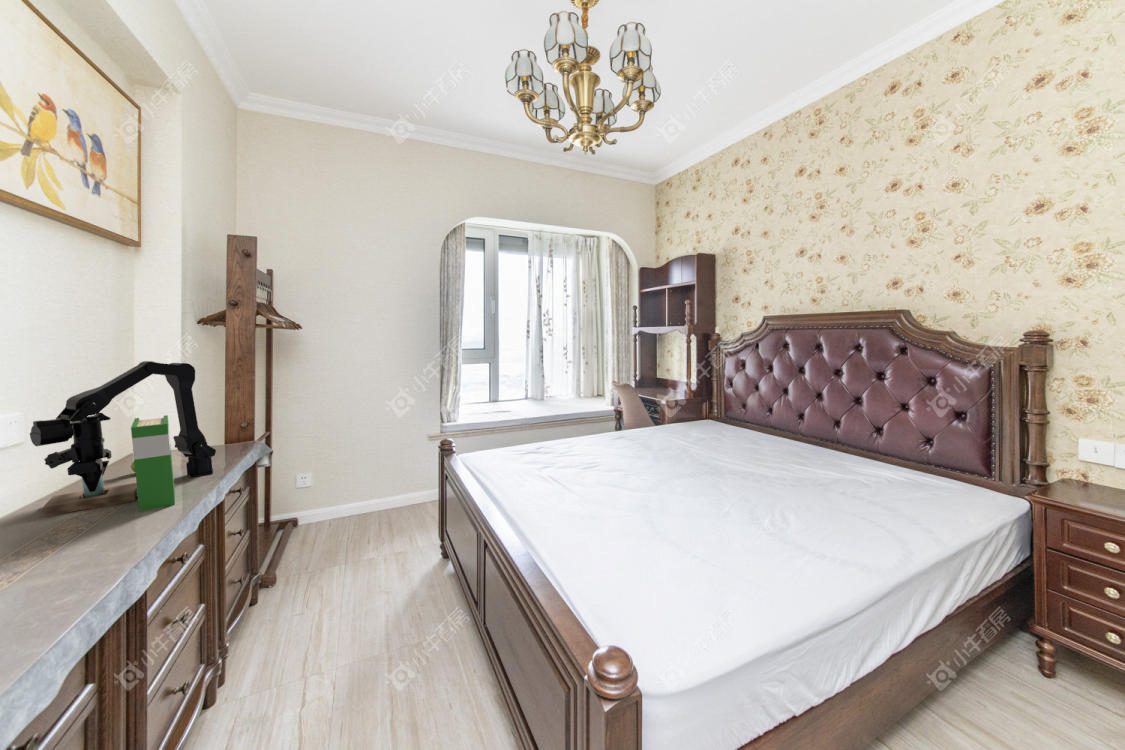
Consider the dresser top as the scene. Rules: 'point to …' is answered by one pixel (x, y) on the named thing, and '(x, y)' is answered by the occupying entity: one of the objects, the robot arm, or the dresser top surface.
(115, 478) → the dresser top surface
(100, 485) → the teal peg
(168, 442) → the hardback book
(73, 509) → the rail
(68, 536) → the dresser top surface
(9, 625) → the dresser top surface
